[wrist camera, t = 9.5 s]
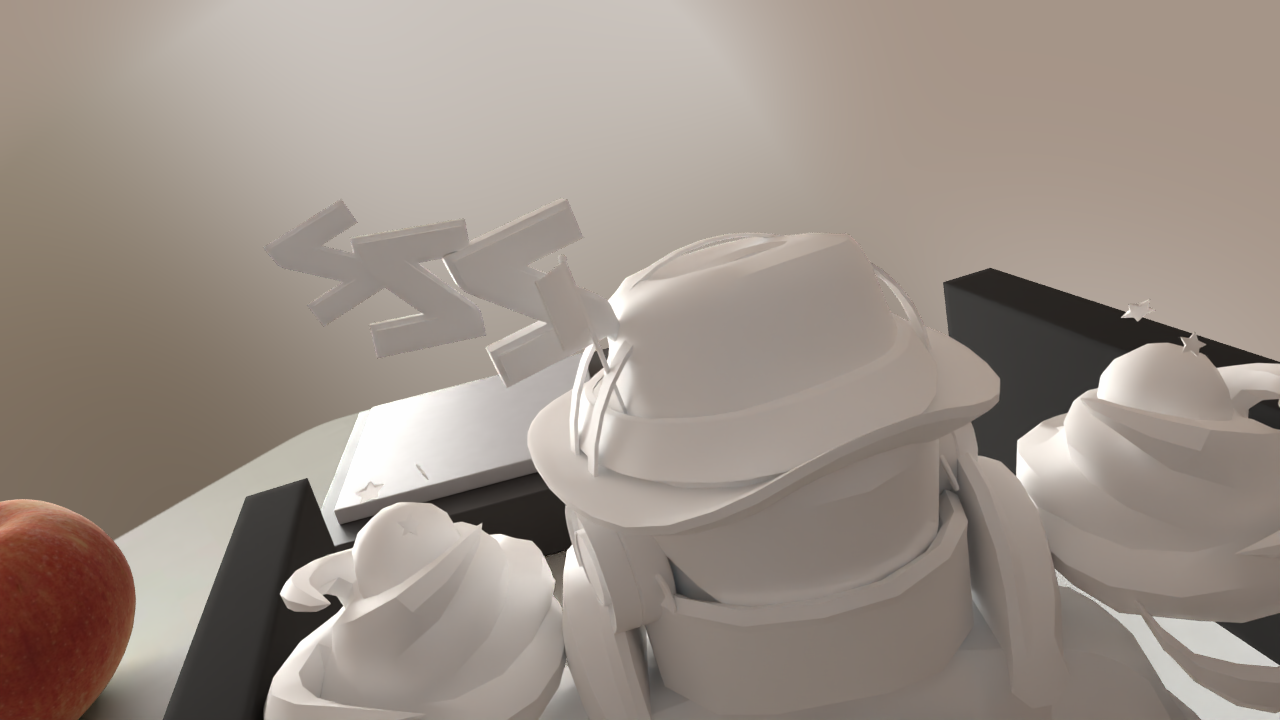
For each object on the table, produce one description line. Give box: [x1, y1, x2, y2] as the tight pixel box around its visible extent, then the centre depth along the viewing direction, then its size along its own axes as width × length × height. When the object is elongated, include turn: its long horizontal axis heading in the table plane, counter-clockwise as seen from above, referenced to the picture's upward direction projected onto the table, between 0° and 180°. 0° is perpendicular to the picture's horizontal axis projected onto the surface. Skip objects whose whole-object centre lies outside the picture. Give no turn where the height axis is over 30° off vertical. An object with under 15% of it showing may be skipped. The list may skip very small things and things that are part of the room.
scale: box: [321, 348, 609, 556], centre depth 37 cm, size 14×13×3 cm
